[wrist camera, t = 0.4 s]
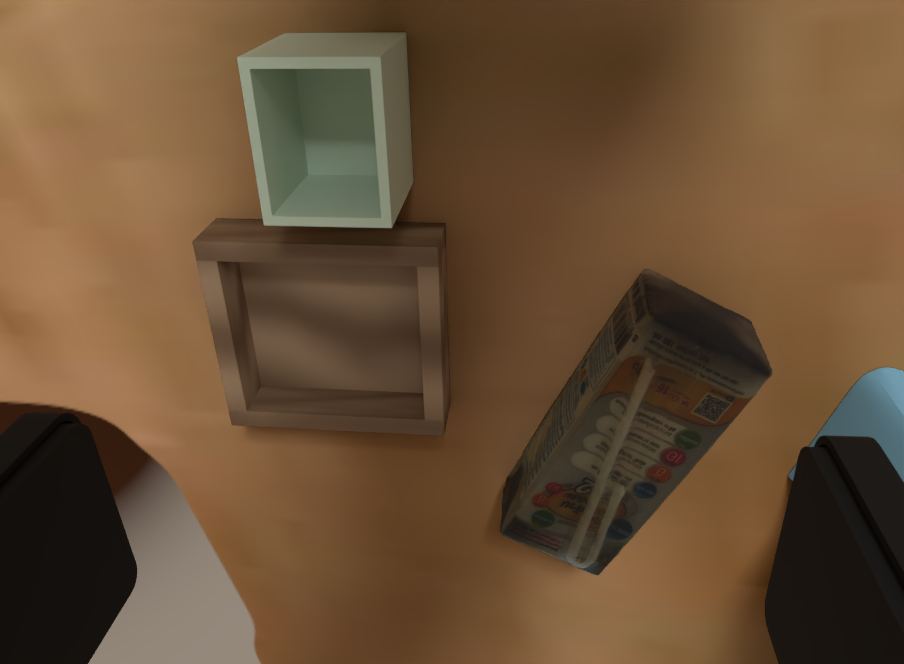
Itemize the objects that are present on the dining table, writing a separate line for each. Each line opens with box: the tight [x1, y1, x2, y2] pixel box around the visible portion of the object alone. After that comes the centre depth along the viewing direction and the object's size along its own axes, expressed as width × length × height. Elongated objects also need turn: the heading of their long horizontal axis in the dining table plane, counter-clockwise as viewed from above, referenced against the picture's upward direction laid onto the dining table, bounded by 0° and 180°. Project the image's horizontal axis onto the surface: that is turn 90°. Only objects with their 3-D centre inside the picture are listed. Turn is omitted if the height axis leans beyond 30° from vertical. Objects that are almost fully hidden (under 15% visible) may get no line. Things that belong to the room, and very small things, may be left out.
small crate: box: [237, 32, 414, 228], centre depth 37 cm, size 8×6×7 cm
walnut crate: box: [192, 219, 450, 436], centre depth 46 cm, size 13×14×4 cm
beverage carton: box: [500, 269, 772, 575], centre depth 46 cm, size 8×19×7 cm, turn 156°
